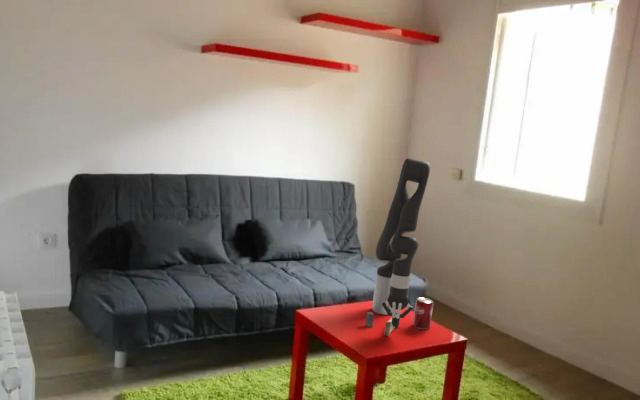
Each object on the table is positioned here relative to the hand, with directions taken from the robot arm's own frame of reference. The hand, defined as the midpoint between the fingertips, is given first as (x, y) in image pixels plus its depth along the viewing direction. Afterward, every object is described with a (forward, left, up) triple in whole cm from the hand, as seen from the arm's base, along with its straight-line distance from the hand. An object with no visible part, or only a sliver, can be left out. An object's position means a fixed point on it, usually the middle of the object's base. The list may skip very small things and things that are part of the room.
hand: (394, 326), depth 229 cm
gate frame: (-10, +1, -4) cm, 11 cm away
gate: (-4, +1, -4) cm, 6 cm away
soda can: (-7, +18, -4) cm, 20 cm away
